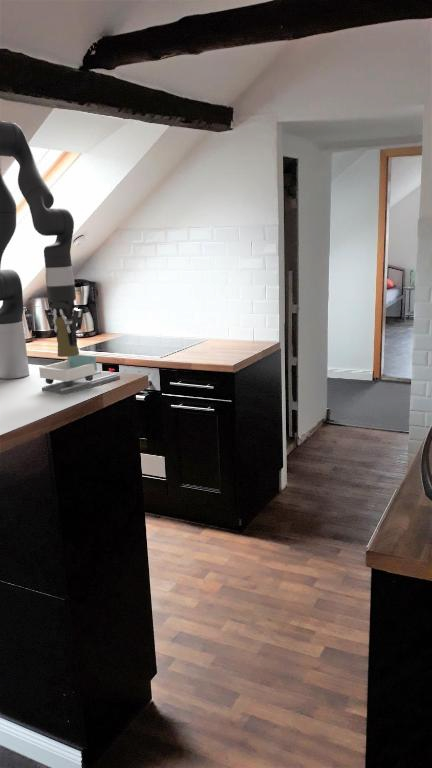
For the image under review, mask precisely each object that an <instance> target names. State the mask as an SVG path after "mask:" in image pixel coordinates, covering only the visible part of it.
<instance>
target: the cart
mask: <svg viewBox="0 0 432 768" xmlns="http://www.w3.org/2000/svg"><path fill="white" fill-rule="evenodd" d="M97 367H98V365H97V357H96V355H88V354H80V353H79V355H75V356H69V357H67V360H64V361H58V362H55V363H52V364H48V365H43V366H39V368H38V369H39V377H40V379H45V383H46V384H48V385H52V384H54V381H58V382H59V381H60V382H62V381H65V382H64V384H65V386H66V387H71V386H72V380H74V379H78V378H82V377H85V379H86V380H87V381H91V380H92V379H93V374H96V373H97V372H98V368H97Z"/></svg>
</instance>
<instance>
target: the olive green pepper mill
mask: <svg viewBox="0 0 432 768" xmlns="http://www.w3.org/2000/svg"><path fill="white" fill-rule="evenodd" d="M67 320H68V321H73V318H72V319H67ZM64 321H65V320H63V318H62V317H57V318H56V320H55V324H56V327H57V328H58V342H57V357H60V358H68V357H69V356H75V355H79V354H80V351H79V347H78V344H76V346H70V343H69V338H68V331H67V325H65V322H64ZM55 324H54V325H55ZM70 326H71V328H72V324H70Z"/></svg>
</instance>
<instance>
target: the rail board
mask: <svg viewBox="0 0 432 768" xmlns="http://www.w3.org/2000/svg"><path fill="white" fill-rule="evenodd" d="M120 379H121V375H119V374H118V373H112V374H111V373H104V372H101V371H97V373H96V374H93V379H92V380H91V381H87V380H86V379H85V377H82V378H78V379H74V380H72V386H71V387H66V386H65V384H64V382H65V381H60V382H59V381H58V382H55V383H52V384H48V385H45V386H42V387H41V391H42V392H46V393H47V392H48V393H52V394H58V395H63V396H67V395H71V394H73V393H74V394H75V393H77V392H79V391H84V390H86V389H90V388H93V387H97V386H100V385H103V384H104V385H105V384H106V383H107V384H108V383H111V382H114V381H117V380H120ZM113 380H114V381H113Z"/></svg>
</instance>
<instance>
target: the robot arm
mask: <svg viewBox="0 0 432 768" xmlns="http://www.w3.org/2000/svg"><path fill="white" fill-rule="evenodd" d="M0 156H1V157H11V158H12V157H13V159H14V160H15V161H16V162H17V164H18V165H19V171H18V174H17V185H18V189H19V190H20V193H21V195H22V196H23V198H24V200H25V201H26V203H27V205H28V207H29V208H28V209H29V211H30V215H31V220H32V225H33V227H34V230H35V231H36V232H37V233H38V234H40V235H42V236H44V237H46V236H47V237H49V236H50V237H51V236H53V237H54V236H56V239H55V242H54V243H53V244H49V245H47V246H45V247H44V248H43V258H44V266H45V283H46V291H47V292H46V293H47V301H48V302H49V303H51V304H50V308H46V309H44V314H45V317H46V320H47V324H48V326H49V328H50V330H53V331H54V332H55V334H56V342H57V343H58V328H57V327H56V324H55V320H56V318H57V317H62V318H63V320H65V321H64V322H65V325H67V331H68V338H69V343H70V346H76V344H77V343H78V339H77V338H78V337H77V332H78V331H80V330H82V325H83V316H84V310H83V309H82V308H81V309H80V308H79V309H78V308H76V305H75V301H76V299H77V294H76V285H75V284H76V283H75V277H74V275H75V274H74V271H73V267H72V259H71V258H72V257H71V256H72V254H71V249H72V241H73V237H74V236H73V234H74V229H75V220H74V217H73V215H72V213H71V212H70V211H69V210H68V209H66V208H52V207H53V205H54V202H55V200H54V195H53V193H52V192H51V190H50V188H49V186H48V185H47V183H46V182H45V179H44V178H43V176H42V174H41V173H40V170H39V168H38V166H37V163H36V161H35V158H34V155H33V152H32V150H31V147H30V145H29V142H28V140H27V137H26V135H25V133H24V131H23V129H22V127H21V126H20V125H19V124H17V123H15V122H11V121H6V120H5V121H4V120H0ZM16 228H17V204H16V201H15V198H14V196H13V194H12V192H11V191H10V189H9V187H8V185H7V184H6V182H5V179H4V178H3V174H2V171H1V169H0V268H1V267H2V266H1V264H2V259H3V256H4V252H5V250H6V248H7V246H9V245H8V244H9V243H10V242H11V239H12V237H13V236H14V234H15V232H16ZM23 298H24V297H23V285H22V281H21V278H20V275H19V274H18V273H17V271H16V270H14V269H0V302H2V305H1V307H0V379H3V380H8V379H9V380H13V379H19V378H24V377H28V376H29V375H30V368H29V361H28V352H27V344H26V337H25V336H26V335H25V327H24V320H23V319H24V317H23V315H24V299H23ZM72 318H73V321H68V320H67V319H72ZM70 324H72V328H71V326H70ZM77 345H78V344H77Z"/></svg>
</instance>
